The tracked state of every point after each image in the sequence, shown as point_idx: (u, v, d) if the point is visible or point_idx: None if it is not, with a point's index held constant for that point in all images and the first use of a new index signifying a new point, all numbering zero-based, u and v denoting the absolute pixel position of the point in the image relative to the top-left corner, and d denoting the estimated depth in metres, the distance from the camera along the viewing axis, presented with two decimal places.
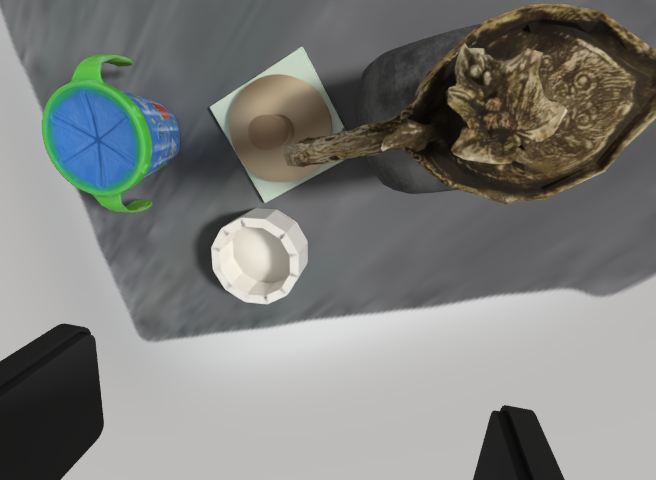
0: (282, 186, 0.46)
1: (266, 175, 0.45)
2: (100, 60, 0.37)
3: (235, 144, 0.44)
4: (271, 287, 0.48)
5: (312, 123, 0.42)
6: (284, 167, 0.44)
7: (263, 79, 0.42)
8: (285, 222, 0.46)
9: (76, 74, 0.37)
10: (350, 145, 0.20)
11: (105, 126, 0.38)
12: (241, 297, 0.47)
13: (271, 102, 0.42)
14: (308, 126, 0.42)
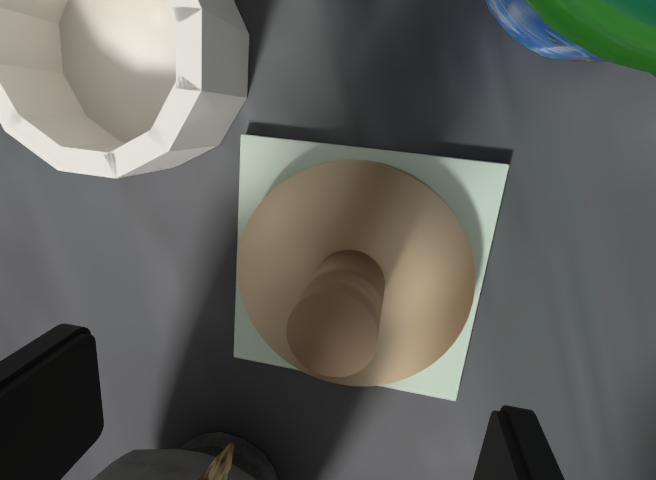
0: (252, 196, 0.20)
1: (284, 193, 0.18)
2: None
3: (388, 175, 0.17)
4: (31, 19, 0.18)
5: None
6: (276, 240, 0.19)
7: (458, 324, 0.18)
8: (167, 164, 0.19)
9: None
10: None
11: None
12: None
13: (408, 307, 0.19)
14: None
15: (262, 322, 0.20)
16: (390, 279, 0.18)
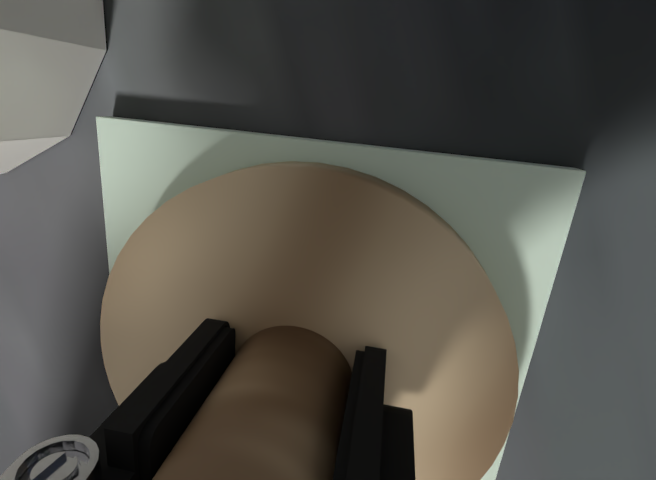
0: (127, 224, 0.11)
1: (166, 225, 0.10)
2: None
3: (355, 194, 0.09)
4: None
5: None
6: (161, 307, 0.11)
7: (485, 455, 0.10)
8: None
9: None
10: None
11: None
12: None
13: None
14: None
15: None
16: None
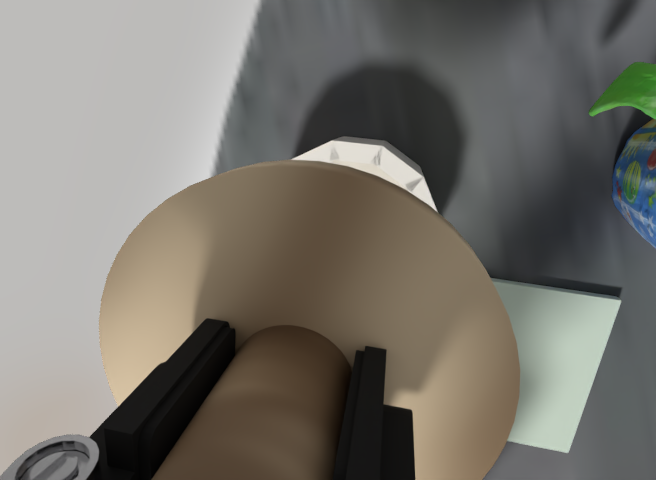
0: None
1: (165, 224, 0.10)
2: None
3: (356, 192, 0.09)
4: None
5: None
6: (161, 306, 0.11)
7: (487, 455, 0.10)
8: None
9: None
10: None
11: None
12: None
13: None
14: None
15: None
16: None
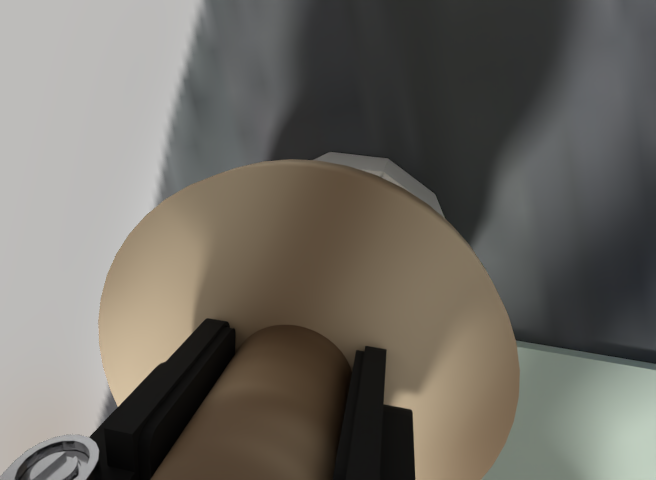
0: None
1: (165, 223, 0.10)
2: None
3: (355, 192, 0.09)
4: None
5: None
6: (160, 306, 0.11)
7: (486, 454, 0.10)
8: None
9: None
10: None
11: None
12: None
13: None
14: None
15: None
16: None
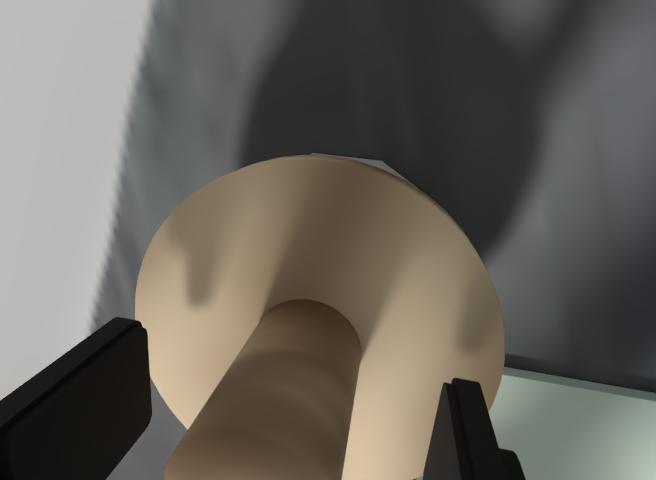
0: None
1: (196, 210, 0.11)
2: None
3: (363, 182, 0.10)
4: None
5: None
6: (191, 284, 0.12)
7: None
8: None
9: None
10: None
11: None
12: None
13: (398, 386, 0.12)
14: None
15: (180, 401, 0.13)
16: (370, 344, 0.12)
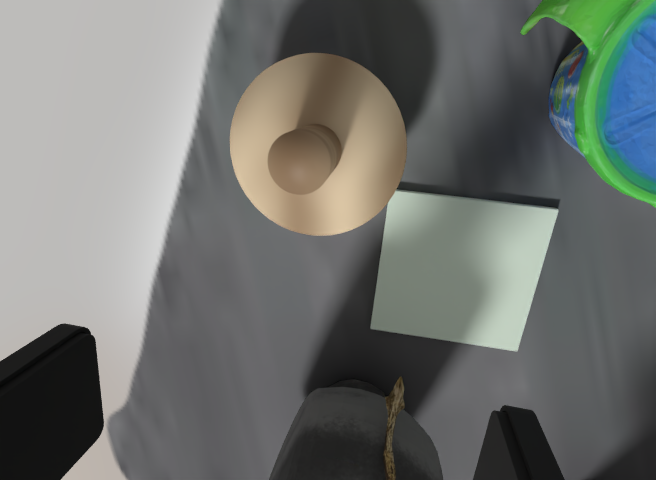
0: (393, 227, 0.31)
1: (263, 80, 0.24)
2: None
3: (340, 62, 0.23)
4: None
5: (295, 203, 0.26)
6: (259, 120, 0.25)
7: (396, 178, 0.25)
8: None
9: None
10: None
11: None
12: None
13: (359, 167, 0.25)
14: (294, 195, 0.26)
15: (251, 188, 0.26)
16: (345, 145, 0.25)
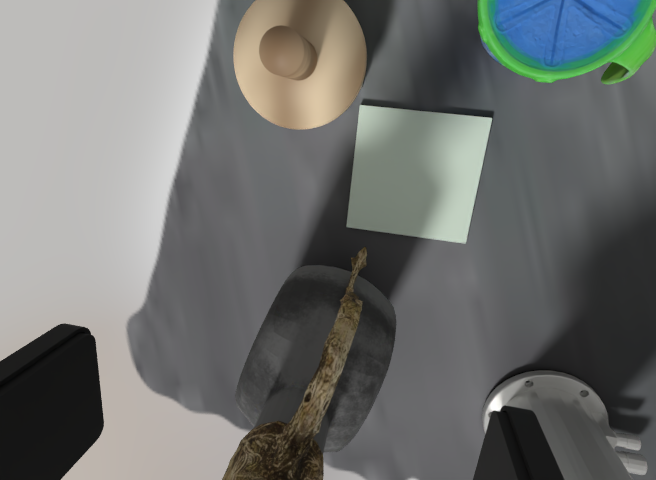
0: (363, 136, 0.39)
1: (259, 4, 0.32)
2: (633, 71, 0.27)
3: None
4: None
5: (282, 103, 0.34)
6: (256, 35, 0.33)
7: (358, 79, 0.33)
8: None
9: (650, 31, 0.26)
10: (308, 420, 0.20)
11: (568, 19, 0.26)
12: None
13: (330, 71, 0.33)
14: (281, 97, 0.34)
15: (249, 91, 0.34)
16: (320, 54, 0.33)
